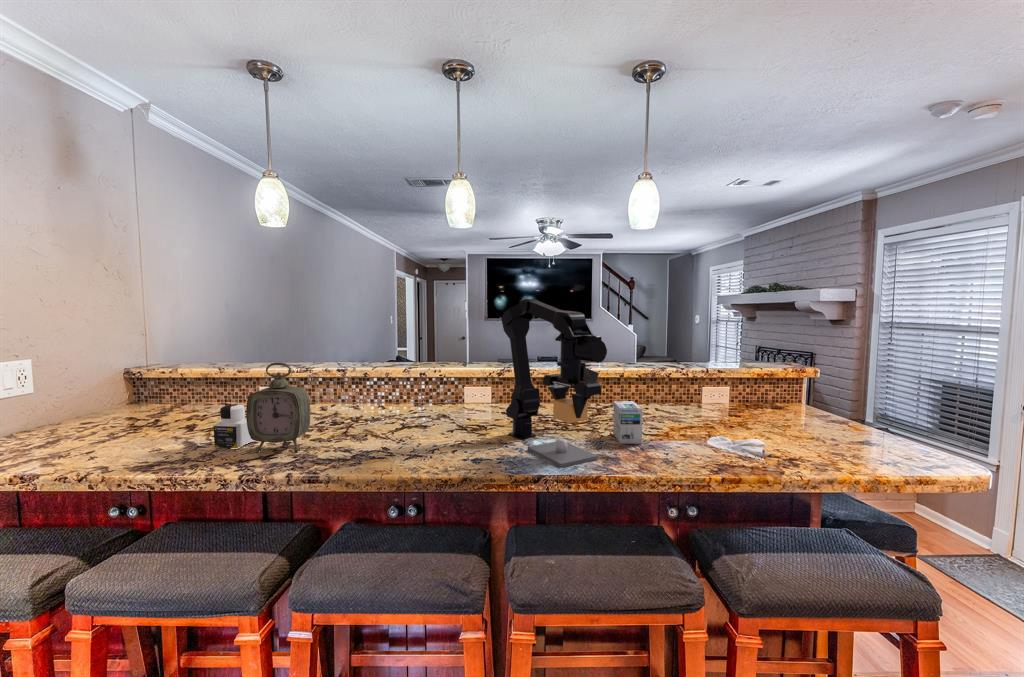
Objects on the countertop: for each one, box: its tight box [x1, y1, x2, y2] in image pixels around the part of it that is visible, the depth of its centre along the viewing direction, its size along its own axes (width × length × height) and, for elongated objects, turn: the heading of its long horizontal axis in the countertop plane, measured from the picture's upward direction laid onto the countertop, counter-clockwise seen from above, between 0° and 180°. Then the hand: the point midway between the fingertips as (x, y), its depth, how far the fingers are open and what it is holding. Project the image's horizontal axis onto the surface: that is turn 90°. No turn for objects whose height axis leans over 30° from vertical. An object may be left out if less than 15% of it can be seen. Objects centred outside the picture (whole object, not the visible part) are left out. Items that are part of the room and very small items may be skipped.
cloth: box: [706, 435, 774, 461], centre depth 130 cm, size 20×22×2 cm
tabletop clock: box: [245, 362, 312, 453], centre depth 129 cm, size 14×9×25 cm, turn 92°
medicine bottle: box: [213, 403, 254, 449], centre depth 133 cm, size 7×7×12 cm
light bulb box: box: [612, 400, 643, 445], centre depth 139 cm, size 11×7×11 cm, turn 179°
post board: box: [527, 438, 599, 469], centre depth 124 cm, size 16×12×4 cm
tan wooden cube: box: [552, 397, 589, 424], centre depth 124 cm, size 7×7×5 cm
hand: (570, 415), depth 125 cm, fingers closed on tan wooden cube, 7 cm apart
